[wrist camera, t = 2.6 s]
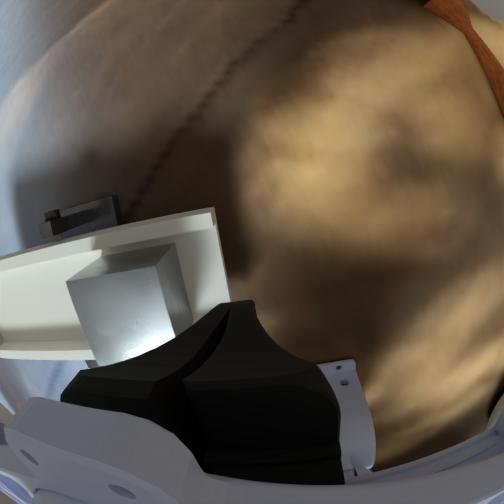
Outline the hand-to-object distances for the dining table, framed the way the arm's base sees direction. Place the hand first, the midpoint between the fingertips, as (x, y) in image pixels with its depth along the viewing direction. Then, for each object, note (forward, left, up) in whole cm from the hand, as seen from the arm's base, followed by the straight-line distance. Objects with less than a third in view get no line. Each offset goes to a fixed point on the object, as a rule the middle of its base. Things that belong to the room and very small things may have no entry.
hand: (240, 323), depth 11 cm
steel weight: (+6, 0, -5) cm, 8 cm away
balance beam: (+12, 0, -5) cm, 14 cm away
